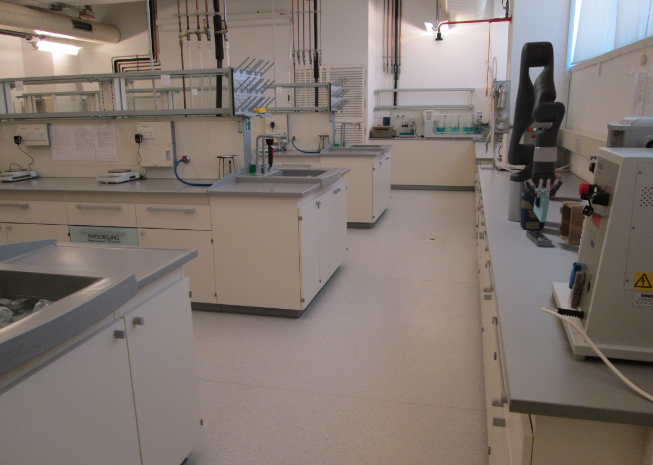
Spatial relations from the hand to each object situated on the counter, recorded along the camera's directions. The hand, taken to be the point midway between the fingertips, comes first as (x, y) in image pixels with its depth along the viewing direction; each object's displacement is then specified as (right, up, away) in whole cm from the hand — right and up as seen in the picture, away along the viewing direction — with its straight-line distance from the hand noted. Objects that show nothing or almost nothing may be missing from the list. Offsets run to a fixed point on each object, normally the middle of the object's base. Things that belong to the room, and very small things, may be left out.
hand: (541, 207), depth 179 cm
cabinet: (+12, -12, +3) cm, 17 cm away
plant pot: (+41, +9, +89) cm, 99 cm away
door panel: (0, -3, +2) cm, 4 cm away
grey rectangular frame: (0, -12, +3) cm, 13 cm away
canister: (+6, -8, +23) cm, 25 cm away
